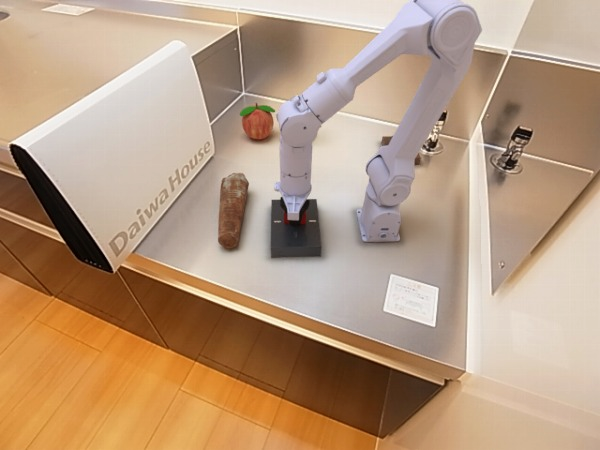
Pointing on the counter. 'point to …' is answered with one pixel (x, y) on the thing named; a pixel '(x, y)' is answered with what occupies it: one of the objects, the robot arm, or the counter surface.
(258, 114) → the fruit
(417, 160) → the button block
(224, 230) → the bread
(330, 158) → the counter surface
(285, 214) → the toaster knob
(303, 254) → the panel
